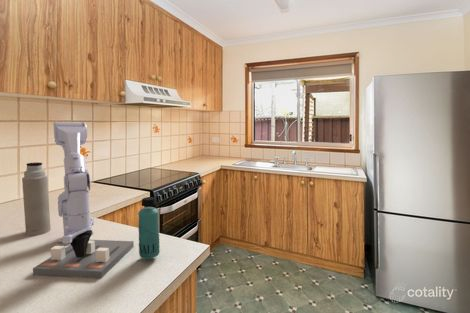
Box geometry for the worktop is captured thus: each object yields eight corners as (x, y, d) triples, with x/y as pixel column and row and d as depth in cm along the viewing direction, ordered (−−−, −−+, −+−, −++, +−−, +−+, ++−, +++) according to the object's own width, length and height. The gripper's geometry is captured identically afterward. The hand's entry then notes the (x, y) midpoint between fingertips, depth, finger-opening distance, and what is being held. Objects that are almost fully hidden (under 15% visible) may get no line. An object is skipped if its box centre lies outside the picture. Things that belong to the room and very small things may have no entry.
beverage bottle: (154, 252, 89) (152, 194, 87) (164, 259, 84) (163, 198, 82) (135, 258, 84) (133, 197, 82) (144, 266, 80) (143, 201, 78)
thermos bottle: (20, 235, 101) (15, 164, 98) (34, 228, 109) (29, 161, 106) (43, 235, 102) (38, 164, 99) (54, 227, 110) (50, 161, 107)
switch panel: (79, 244, 94) (78, 229, 93) (133, 246, 93) (133, 231, 92) (33, 275, 74) (32, 256, 74) (101, 278, 73) (100, 259, 72)
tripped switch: (86, 250, 84) (85, 240, 84) (95, 251, 84) (94, 240, 84) (82, 253, 82) (81, 242, 82) (91, 254, 82) (90, 243, 82)
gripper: (77, 205, 85) (79, 246, 86) (49, 221, 71) (52, 269, 72) (99, 205, 86) (101, 245, 87) (77, 220, 71) (79, 268, 73)
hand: (80, 256), depth 79 cm, fingers closed
